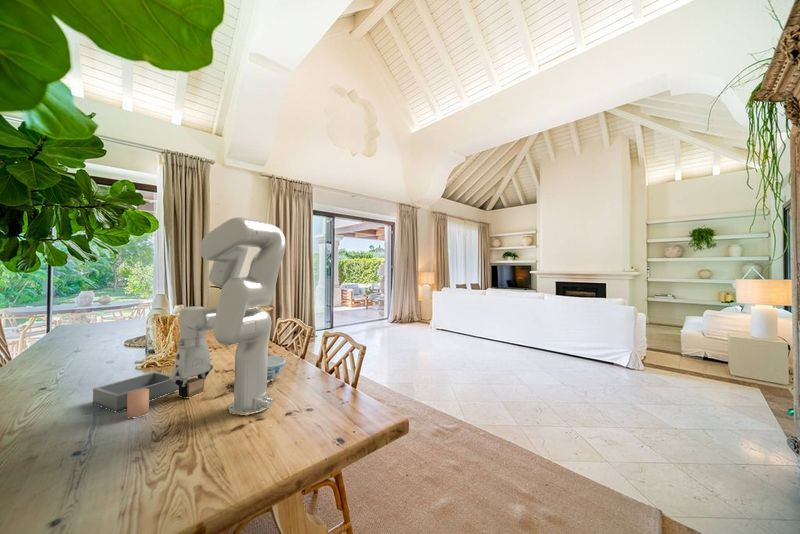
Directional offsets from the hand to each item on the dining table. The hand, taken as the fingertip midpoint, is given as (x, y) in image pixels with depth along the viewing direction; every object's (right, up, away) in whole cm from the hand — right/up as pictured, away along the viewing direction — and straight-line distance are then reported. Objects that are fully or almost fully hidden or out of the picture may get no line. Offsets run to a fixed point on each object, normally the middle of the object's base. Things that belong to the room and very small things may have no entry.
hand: (191, 393), depth 107 cm
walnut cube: (0, -1, 0) cm, 1 cm away
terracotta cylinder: (-6, 0, -15) cm, 16 cm away
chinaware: (+19, -1, +15) cm, 24 cm away
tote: (-16, 0, -3) cm, 17 cm away
